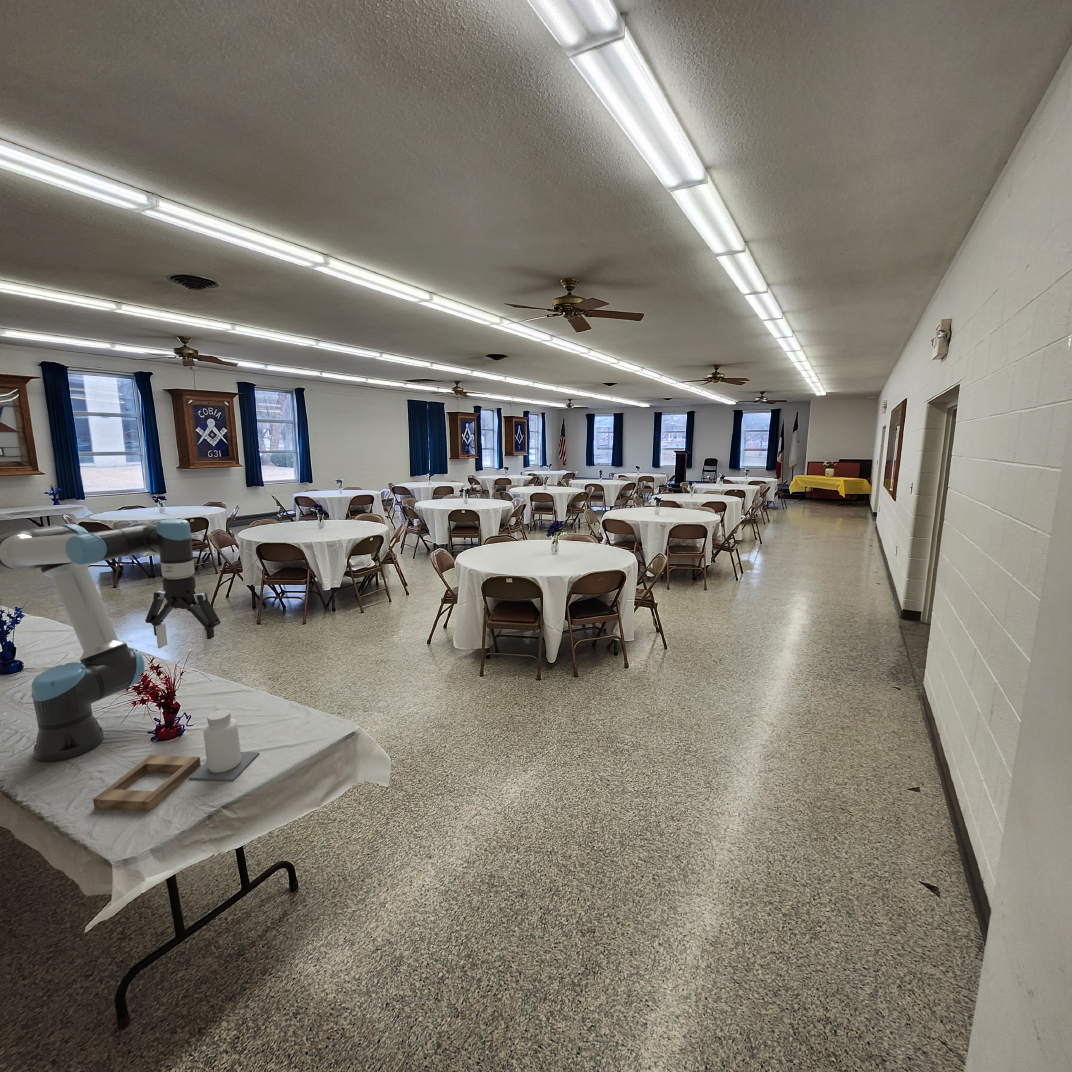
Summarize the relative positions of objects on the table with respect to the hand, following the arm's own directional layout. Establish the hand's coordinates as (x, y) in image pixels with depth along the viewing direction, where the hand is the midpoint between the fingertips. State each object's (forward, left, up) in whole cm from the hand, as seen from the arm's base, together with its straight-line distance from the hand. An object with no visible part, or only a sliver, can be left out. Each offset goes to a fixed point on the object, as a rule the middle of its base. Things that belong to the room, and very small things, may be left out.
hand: (185, 647), depth 150 cm
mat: (+15, -11, -29) cm, 35 cm away
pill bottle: (+15, -11, -29) cm, 35 cm away
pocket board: (+1, -20, -29) cm, 35 cm away
